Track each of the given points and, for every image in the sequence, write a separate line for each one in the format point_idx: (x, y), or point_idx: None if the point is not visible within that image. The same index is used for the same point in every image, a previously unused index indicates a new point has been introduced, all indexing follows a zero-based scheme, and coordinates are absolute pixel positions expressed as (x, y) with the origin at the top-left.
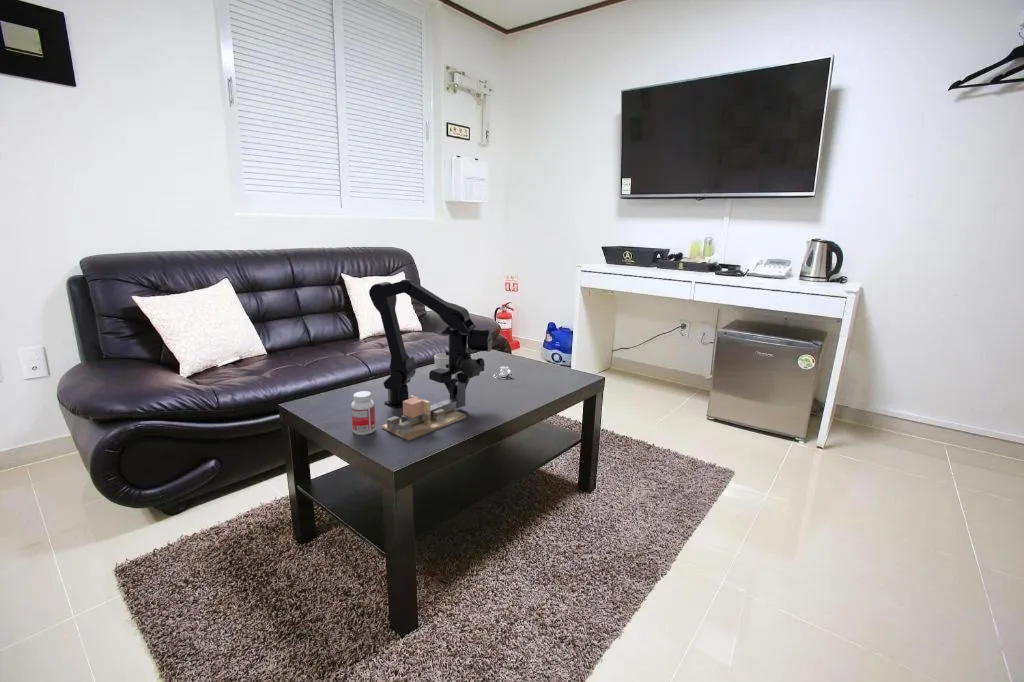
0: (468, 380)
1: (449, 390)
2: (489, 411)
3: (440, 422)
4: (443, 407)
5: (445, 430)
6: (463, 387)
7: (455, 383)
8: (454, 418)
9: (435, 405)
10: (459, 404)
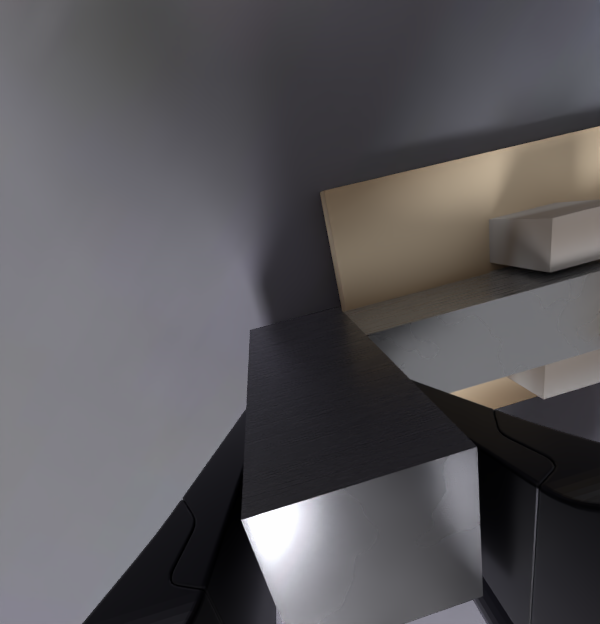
0: (118, 606)
1: None
2: (78, 183)
3: (550, 175)
4: (513, 286)
5: (570, 67)
6: (292, 439)
7: (580, 493)
8: (438, 178)
9: (565, 331)
10: (322, 321)
